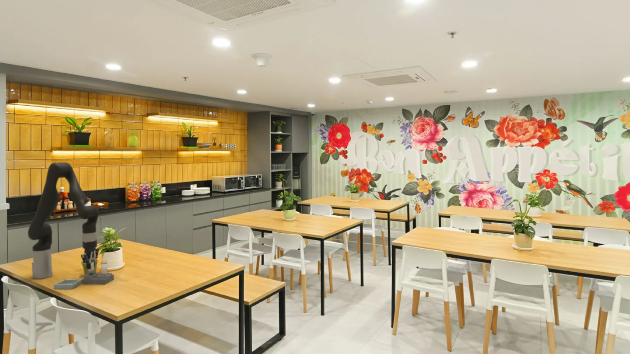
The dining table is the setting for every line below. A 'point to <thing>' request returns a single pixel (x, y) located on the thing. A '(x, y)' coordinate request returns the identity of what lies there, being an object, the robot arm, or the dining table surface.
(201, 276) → the dining table surface
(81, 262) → the plant pot
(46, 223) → the robot arm
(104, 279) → the fuse block
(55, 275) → the dining table surface
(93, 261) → the fuse
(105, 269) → the fuse
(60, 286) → the parts tray
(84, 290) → the dining table surface
